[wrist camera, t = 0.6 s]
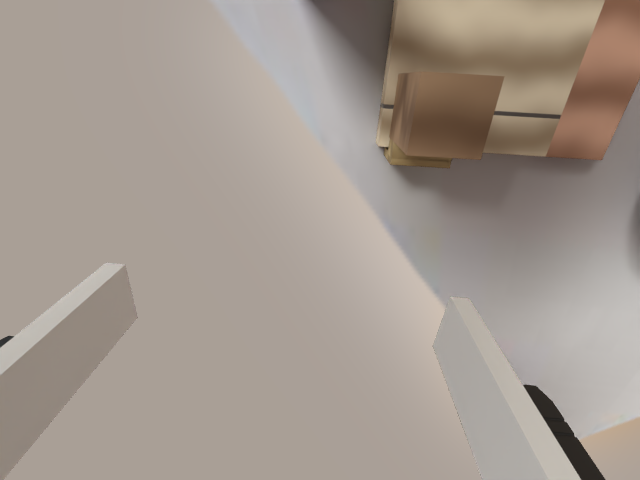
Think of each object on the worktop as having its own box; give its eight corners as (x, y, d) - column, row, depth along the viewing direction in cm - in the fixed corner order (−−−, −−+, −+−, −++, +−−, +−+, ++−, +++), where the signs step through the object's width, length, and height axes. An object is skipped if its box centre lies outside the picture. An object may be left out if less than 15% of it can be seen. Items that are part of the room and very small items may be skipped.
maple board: (395, -10, 30) (400, -17, 27) (650, 4, 29) (676, -2, 27) (375, 142, 36) (378, 146, 34) (585, 155, 36) (601, 160, 33)
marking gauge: (395, 74, 32) (421, 71, 23) (453, 77, 32) (504, 76, 22) (383, 154, 36) (401, 181, 26) (435, 157, 36) (473, 186, 26)
